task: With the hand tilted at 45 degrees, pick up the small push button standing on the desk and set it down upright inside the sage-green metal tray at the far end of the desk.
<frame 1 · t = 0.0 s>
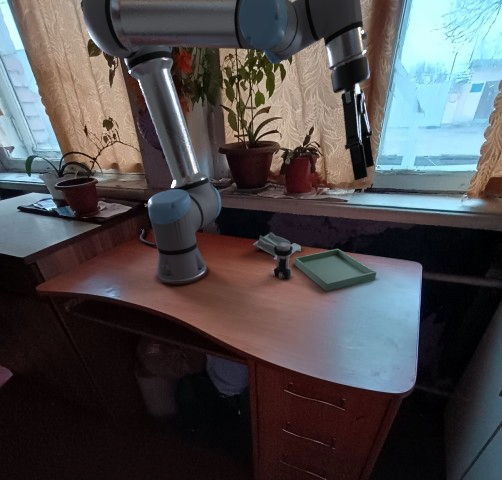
hand: (365, 172, 74), 28 cm above the table, tool tilted 20°, fingers open, 13 cm apart
tray: (332, 271, 95), on the table
push button: (280, 276, 94), on the table
metal bracket: (275, 253, 108), on the table
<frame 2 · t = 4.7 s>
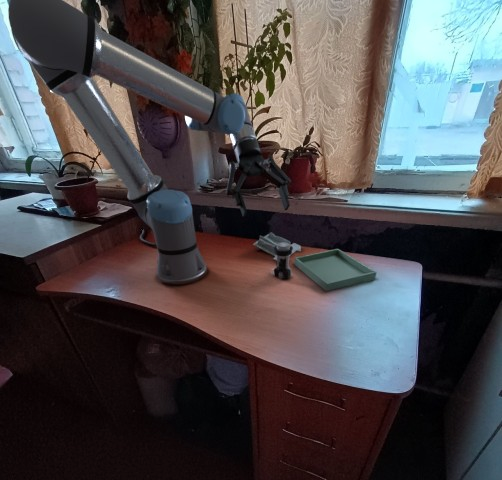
hand: (266, 211, 92), 16 cm above the table, tool tilted 45°, fingers open, 13 cm apart
nothing on the table moved.
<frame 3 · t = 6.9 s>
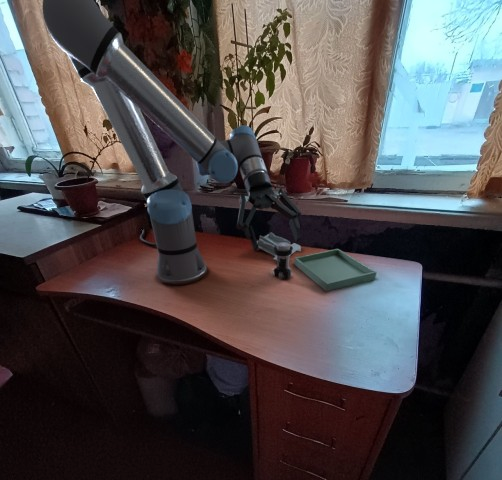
hand: (277, 244, 91), 9 cm above the table, tool tilted 45°, fingers open, 13 cm apart
nothing on the table moved.
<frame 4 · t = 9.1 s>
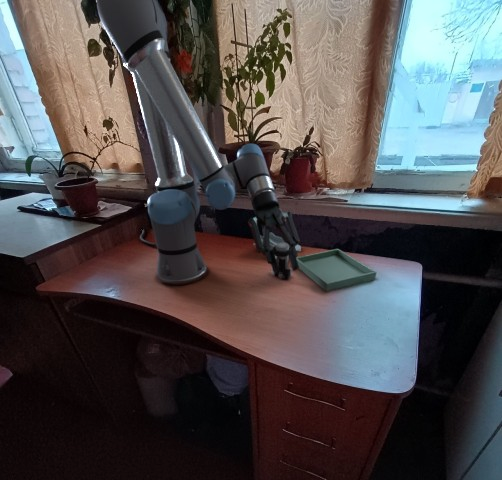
hand: (286, 271, 89), 3 cm above the table, tool tilted 45°, fingers closed on push button, 5 cm apart
push button: (280, 276, 94), on the table, touching gripper
everything else where it was.
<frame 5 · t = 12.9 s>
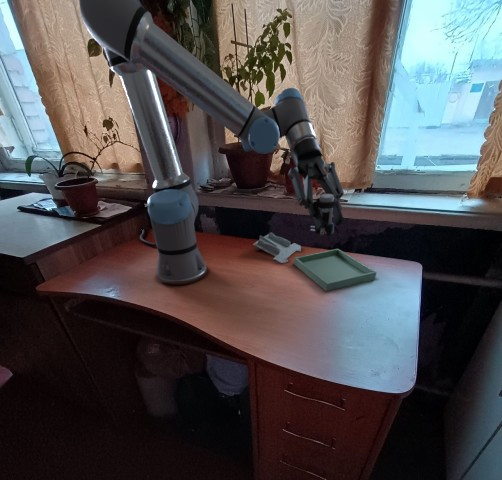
hand: (330, 225, 82), 16 cm above the table, tool tilted 45°, fingers closed on push button, 5 cm apart
push button: (321, 233, 87), point 12 cm above the table, touching gripper
everything else where it was.
when the fingers open (4 cm above the table, at t = 17.0 s): push button stays where it is, resting on tray.
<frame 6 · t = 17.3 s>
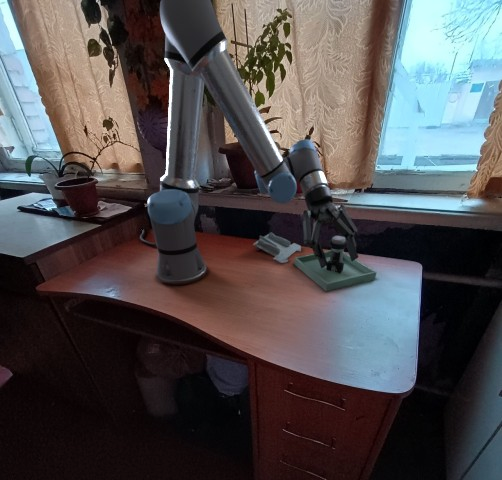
hand: (339, 262, 90), 4 cm above the table, tool tilted 45°, fingers open, 10 cm apart
push button: (332, 270, 95), resting on tray
everything else where it was.
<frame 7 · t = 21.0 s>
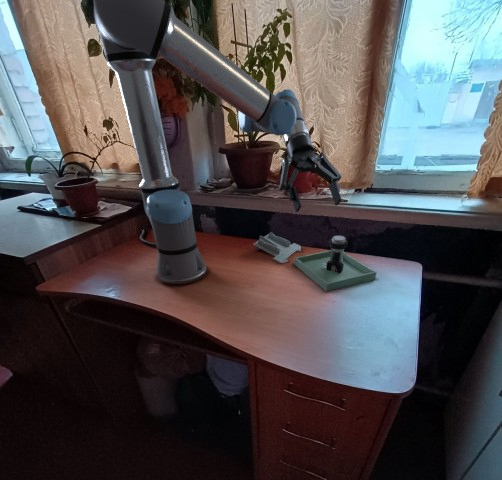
hand: (319, 206, 93), 17 cm above the table, tool tilted 45°, fingers open, 13 cm apart
nothing on the table moved.
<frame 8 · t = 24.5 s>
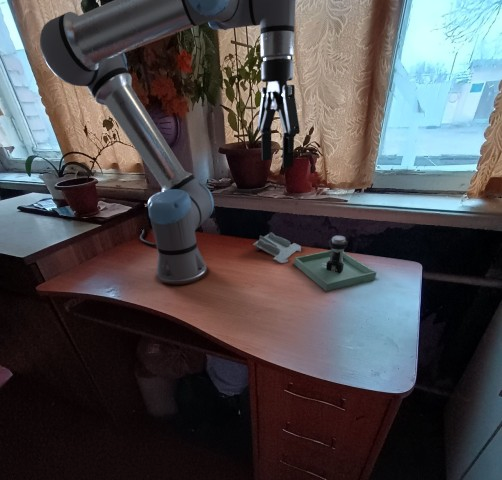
hand: (276, 163, 85), 29 cm above the table, tool pointing down, fingers open, 13 cm apart
nothing on the table moved.
at the end: push button inside the target area in the tray (0.1 cm from its centre), point 0.3 cm above the tray's base; push button tilted 0°; the gripper is holding nothing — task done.
